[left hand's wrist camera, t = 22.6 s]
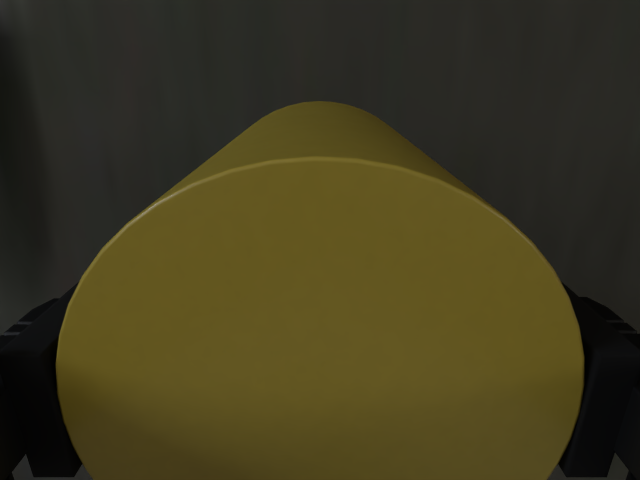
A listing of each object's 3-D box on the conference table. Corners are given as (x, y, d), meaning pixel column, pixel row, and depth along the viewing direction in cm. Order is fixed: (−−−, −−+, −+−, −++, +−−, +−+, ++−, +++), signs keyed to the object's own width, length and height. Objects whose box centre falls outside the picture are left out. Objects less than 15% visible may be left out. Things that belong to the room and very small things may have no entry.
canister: (273, 56, 17) (175, 23, 5) (467, 170, 18) (707, 330, 7) (182, 248, 20) (-7, 490, 8) (356, 332, 21) (398, 631, 10)
